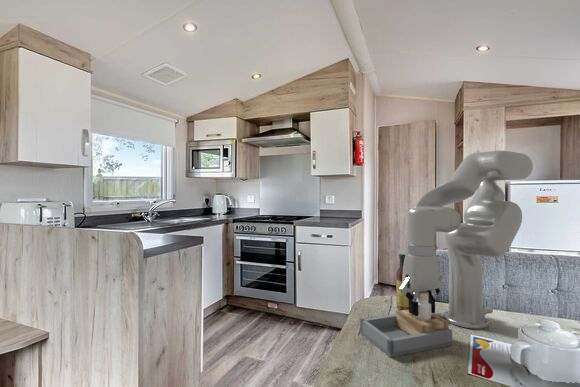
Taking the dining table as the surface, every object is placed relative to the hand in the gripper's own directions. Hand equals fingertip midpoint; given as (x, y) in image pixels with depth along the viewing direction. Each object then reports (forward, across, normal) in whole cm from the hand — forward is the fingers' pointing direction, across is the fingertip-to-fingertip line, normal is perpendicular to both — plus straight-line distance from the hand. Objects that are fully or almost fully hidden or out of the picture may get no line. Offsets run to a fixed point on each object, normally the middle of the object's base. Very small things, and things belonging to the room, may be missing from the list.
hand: (421, 312), depth 88 cm
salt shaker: (+4, 0, 0) cm, 4 cm away
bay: (+7, +6, 0) cm, 9 cm away
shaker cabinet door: (+6, 0, 0) cm, 6 cm away
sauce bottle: (+7, -9, -18) cm, 21 cm away
